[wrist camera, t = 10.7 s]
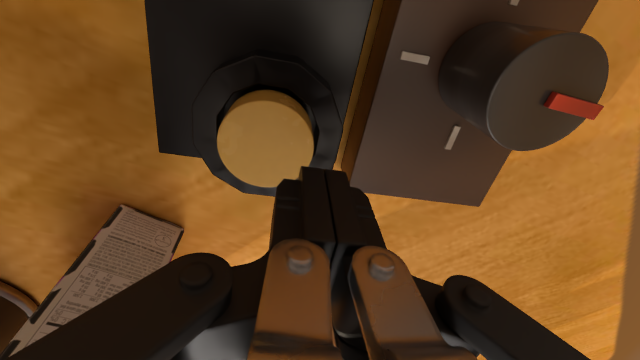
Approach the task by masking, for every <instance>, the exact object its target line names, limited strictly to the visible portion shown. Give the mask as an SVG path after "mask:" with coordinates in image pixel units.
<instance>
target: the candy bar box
mask: <svg viewBox="0 0 640 360" xmlns="http://www.w3.org/2000/svg"><path fill="white" fill-rule="evenodd" d="M183 233H184V229H183V228H181V227H179V226H177V225H175V224H173V223H170V222H168V221H164V220H161V219H158V218H156V217H153V216H150V215H148V214H145V213H143V212H141V211H138V210H136V209H133V208H130V207H128V206H125V205H120V206H119V207H118V208H117V209H116V211H115V212H114V213H113V215H112V216H111V217H110V218H109V220H108V221H107V222H106V223H105V224H104V226H103V227H102V228H101V229H100V231H99V232H98V233H97V234H96V236H95V237H94V238H93V239H92V240H91V242H90V243H89V244H88V245H87V247H86V248H85V249H84V251H83V252H82V253H81V254H80V255H79V257H78V258H77V259H76V260H75V262H74V263H73V264H72V266H71V267H70V268H69V269H68V271H67V272H66V273H65V274H64V276H63V277H62V278H61V279H60V280H59V282H58V283H57V284H56V285H55V286H54V288H53V289H52V290H51V292H50V293H49V294H48V296H47V297H46V298H45V300H44V301H43V302H42V303H41V304H40V306H39V307H38V308H37V309H36V310H35V312H34V313H33V314H32V315H31V317H30V318H29V319H28V320H27V322H26V323H25V324H24V325H23V327H22V328H21V329H20V330H19V331H18V333H17V334H16V335H15V336H14V338H13V339H12V340H11V341H10V343H9V344H8V345H7V347H6V348H5V349H4V350H3V351H2V353H1V354H0V360H5V359H6V358H8V357H10V356H11V355H13V354H15V353H16V352H18V351H20V350H22V349H23V348H25V347H27V346H28V345H30V344H32V343H34V342H35V341H37V340H39V339H40V338H42V337H44V336H45V335H47V334H49V333H51V332H52V331H54V330H56V329H57V328H59V327H61V326H62V325H64V324H66V323H68V322H69V321H71V320H73V319H74V318H76V317H78V316H80V315H81V314H83V313H85V312H86V311H88V310H90V309H91V308H93V307H95V306H97V305H98V304H100V303H102V302H103V301H105V300H107V299H108V298H110V297H112V296H114V295H115V294H117V293H119V292H120V291H122V290H124V289H125V288H127V287H129V286H131V285H132V284H134V283H136V282H137V281H139V280H141V279H143V278H144V277H146V276H148V275H149V274H151V273H153V272H154V271H156V270H158V269H160V268H161V267H163V266H165V265H166V264H168V263H170V262H171V260H172V257H173V255H174V253H175V250H176V248H177V246H178V244H179V242H180V239H181V237H182V235H183Z"/></svg>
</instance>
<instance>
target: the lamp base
mask: <svg viewBox="0 0 640 360" xmlns="http://www.w3.org/2000/svg"><path fill="white" fill-rule="evenodd" d="M373 2H374V0H145V11H146V21H147V32H148V42H149V53H150V63H151V74H152V84H153V95H154V105H155V115H156V126H157V136H158V147H159V152H160V153H168V154H175V155H183V156H191V157H198V158H203V160H204V161H205V163H206V165H207V166H208V168H209V169H210V171H211V172H212V174H213V175H214V176H216V177H218V178H219V179H221V180H223V181H225V182H226V183H228V184H230V185H231V186H233V187H235V188H236V189H238V190H240V191H241V192H243V193H244V192H245V193H248V194H257V195H266V196H274V197H275V196H276V189H277V187H259V186H254V185H251V184H248V183H246V182H244V181H242V180H240V179H239V178H237V177H236V176H234V175H233V174H232V173H231V172H230V171H229V170H228V169H227V168H226V166H225V165H224V163H223V162H222V160H221V158H220V155H219V152H218V148H217V134H218V130H219V127H220V125H221V123H222V121H223V119H224V117H225V116H226V114H227V112H228V110H229V109H230V107H231V106H232V104H233V103H234V102H235V101H236V100H237V99H238V98H240V97H241V96H243V95H245V94H247V93H249V92H252V91H256V90H266V89H268V90H275V91H279V92H282V93H285V94H287V95H289V96H291V97H292V98H294V99H295V100H296V101H297V102H299V103H300V104H301V106H302V107H303V108H304V109H305V111H306V112H307V114H308V116H309V118H310V121H311V125H312V132H313V140H314V152H313V156H312V160H311V162H310V164H309V166H308V167H314V168H321V169H323V170H324V169H329V170H332V169H333V165H334V163H335V161H336V157H337V153H338V149H339V145H340V141H341V137H342V133H343V124H344V120H345V116H346V112H347V108H348V104H349V100H350V96H351V92H352V88H353V83H354V79H355V75H356V71H357V67H358V63H359V59H360V55H361V51H362V47H363V43H364V39H365V35H366V30H367V26H368V22H369V18H370V14H371V10H372V6H373ZM295 180H298V178H297V179H295Z"/></svg>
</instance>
